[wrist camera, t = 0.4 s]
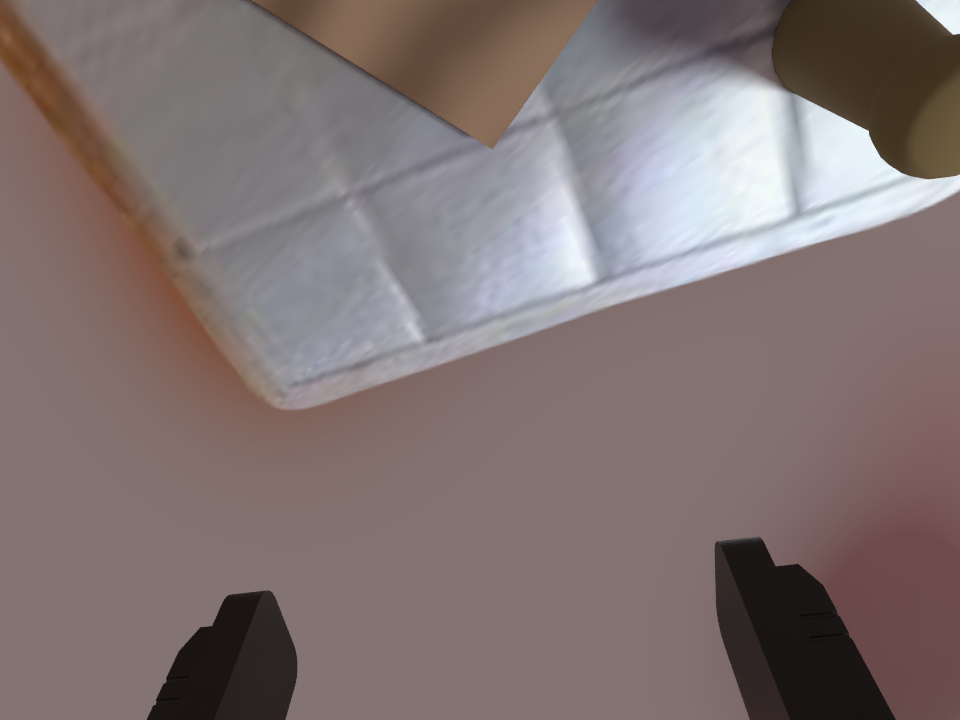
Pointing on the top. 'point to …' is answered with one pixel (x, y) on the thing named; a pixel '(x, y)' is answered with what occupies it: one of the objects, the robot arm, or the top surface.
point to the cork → (878, 76)
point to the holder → (447, 49)
